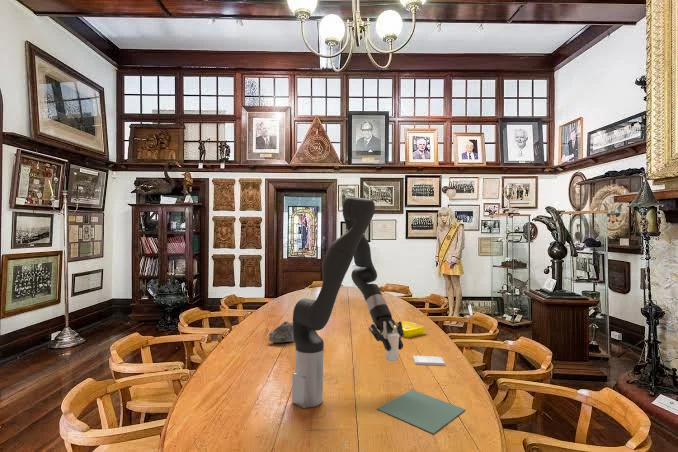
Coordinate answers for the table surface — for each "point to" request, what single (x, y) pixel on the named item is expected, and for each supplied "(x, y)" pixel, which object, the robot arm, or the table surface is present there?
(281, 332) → the mineral rock
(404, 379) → the table surface
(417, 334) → the element tile
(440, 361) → the hard drive
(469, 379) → the table surface
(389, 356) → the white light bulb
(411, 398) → the felt mat
